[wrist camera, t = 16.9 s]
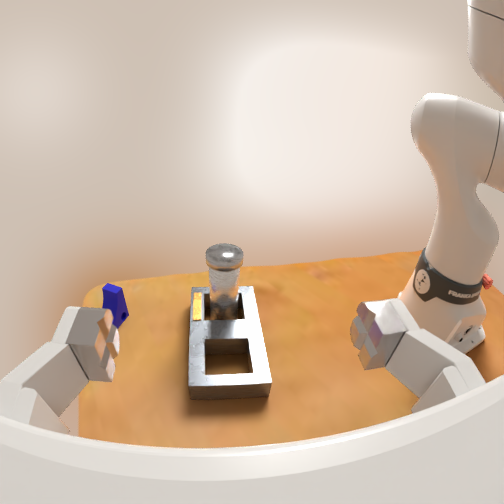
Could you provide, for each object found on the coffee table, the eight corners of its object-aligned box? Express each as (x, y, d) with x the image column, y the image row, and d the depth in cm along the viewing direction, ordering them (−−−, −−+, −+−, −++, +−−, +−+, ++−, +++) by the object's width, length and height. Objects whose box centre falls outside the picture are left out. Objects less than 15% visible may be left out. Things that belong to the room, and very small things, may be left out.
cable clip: (95, 370, 36) (82, 343, 33) (74, 358, 37) (60, 331, 34) (136, 318, 46) (129, 290, 43) (115, 310, 47) (107, 283, 44)
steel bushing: (238, 310, 49) (241, 243, 43) (241, 333, 45) (245, 263, 38) (207, 311, 49) (205, 243, 42) (208, 334, 45) (205, 264, 38)
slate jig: (251, 302, 52) (252, 285, 50) (268, 396, 36) (272, 381, 34) (192, 303, 50) (191, 286, 48) (191, 399, 34) (188, 384, 33)
